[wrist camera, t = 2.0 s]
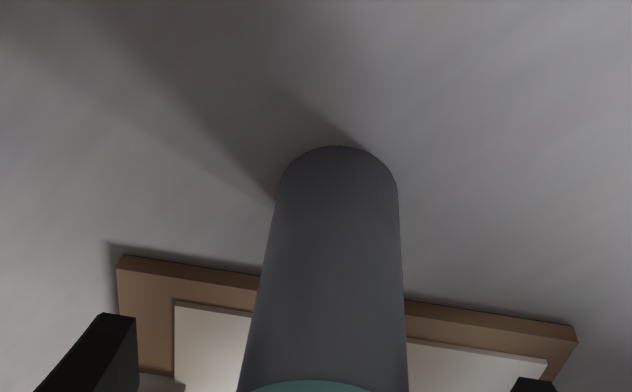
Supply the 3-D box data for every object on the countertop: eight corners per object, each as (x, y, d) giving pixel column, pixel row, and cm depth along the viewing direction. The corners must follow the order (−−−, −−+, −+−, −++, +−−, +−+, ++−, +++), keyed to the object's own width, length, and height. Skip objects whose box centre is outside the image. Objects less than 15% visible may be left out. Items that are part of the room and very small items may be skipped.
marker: (415, 155, 15) (451, 493, 8) (386, 251, 17) (394, 585, 10) (282, 132, 15) (208, 456, 8) (269, 233, 17) (200, 557, 10)
